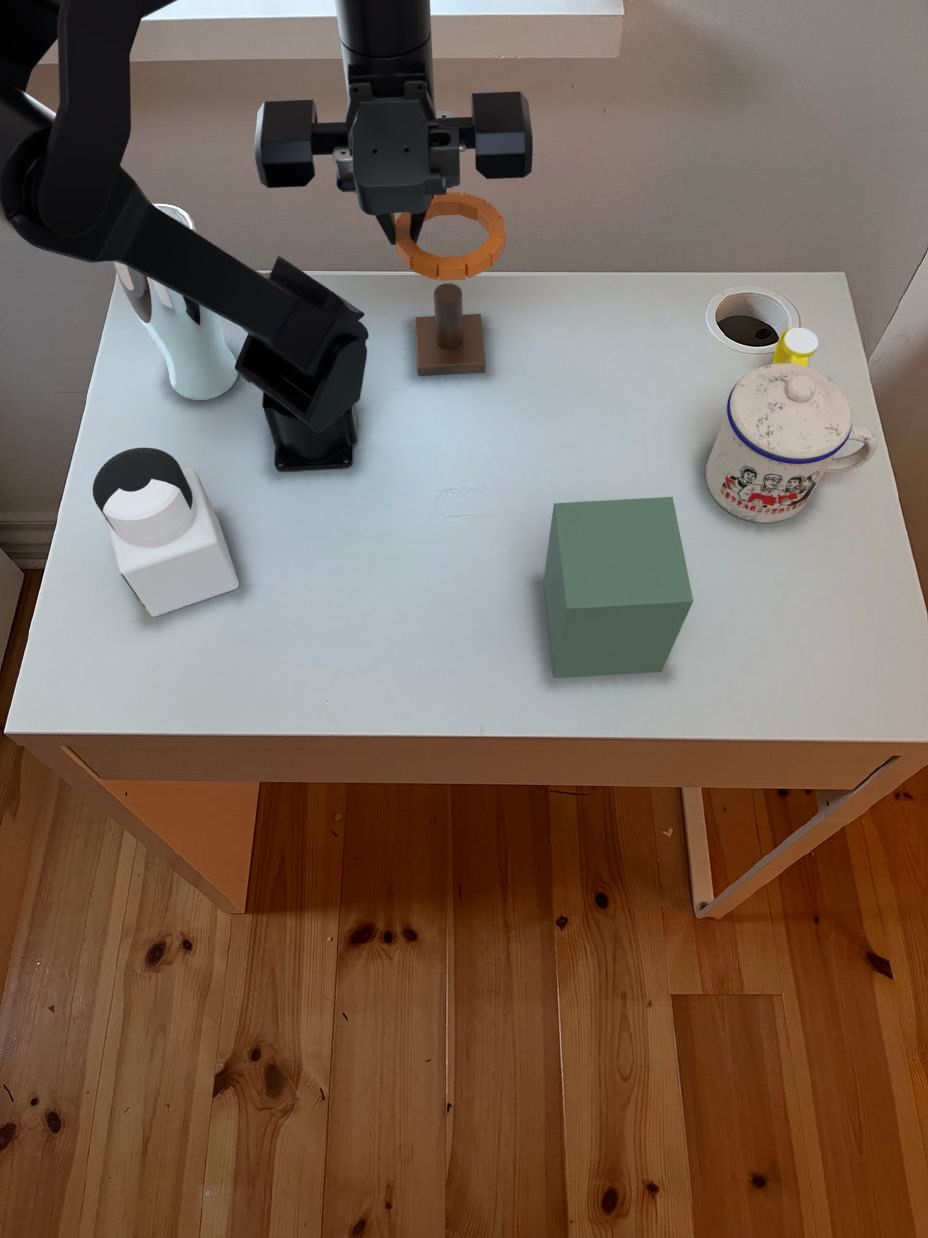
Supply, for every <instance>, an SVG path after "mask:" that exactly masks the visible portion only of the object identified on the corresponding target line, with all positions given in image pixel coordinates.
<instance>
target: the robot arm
mask: <svg viewBox="0 0 928 1238" xmlns="http://www.w3.org/2000/svg"><path fill="white" fill-rule="evenodd" d="M177 1H178V0H0V222H1V223H2V224H3V225H5V226H6V227H8V228H9V229H10V230H12V231H13V233H15V234H16V235H18V236H19V237H21V238H22V239H23V240H25V241H26V242H27V243H28V244H29V245H31V246H33V247H34V248H36V249H39V250H42V251H46V252H48V253H52V254H56V255H61V256H63V257H67V258H70V259H74V260H78V261H82V262H86V263H89V264H103V263H105V264H107V263H113V262H118V263H121V264H124V265H126V266H128V267H130V268H132V269H134V270H136V271H138V272H139V273H141V274H143V275H145V276H147V277H149V278H151V279H153V280H154V281H156V282H158V283H160V284H162V285H164V286H166V287H167V288H169V289H171V290H173V291H175V292H177V293H179V294H181V295H182V296H184V297H186V298H188V299H190V300H192V301H194V302H195V303H197V304H199V305H201V306H203V307H205V308H207V309H209V310H210V311H212V312H214V313H216V314H218V315H220V317H221V318H224V319H225V320H227V321H229V322H232V323H233V324H235V325H237V326H239V327H240V328H241V329H242V330H244V331H245V332H246V333H247V335H246V338H245V339H244V342H243V345H242V347H241V349H240V352H239V355H238V357H237V359H236V361H237V362H236V364H235V370H236V371H237V372H238V375H240V376H241V377H242V378H243V379H244V380H245V381H247V382H248V383H249V384H252V385H254V386H255V387H257V388H258V390H261V392H262V405H261V406H262V410H263V413H264V416H265V419H266V423H267V425H268V428H269V429H268V430H269V432H270V435H271V437H272V442H273V444H274V467H275V470H276V471H278V472H292V471H293V472H294V471H310V470H311V471H313V470H330V469H349V468H350V467H352V466H353V465H354V446H356V445H357V444H358V443H359V432H358V431H359V425H358V424H359V421H358V420H359V419H358V414H357V408H356V404H357V403H358V402H360V399H361V395H362V390H363V382H364V376H365V370H366V363H367V358H368V348H367V344H366V343H367V340H368V339H369V335H370V334H369V331H368V328H367V327H366V326H365V324H363V322H362V321H361V319H363V318H364V316H365V312H364V311H362V310H361V309H359V308H358V307H356V306H355V305H353V304H352V303H350V302H349V301H348V300H346V299H344V298H343V297H342V296H341V295H339V294H337V293H336V292H334V291H332V290H331V289H329V287H327V286H325V285H324V284H322V283H321V282H319V281H318V280H316V279H315V278H313V277H312V276H310V275H309V274H307V273H306V272H304V271H303V270H302V269H300V268H299V267H297V266H295V265H294V264H293V263H291V262H289V261H288V260H286V259H285V258H284V257H282V256H281V255H279V254H278V255H277V257H276V259H275V262H274V264H273V266H272V269H271V271H269V272H265V273H264V272H260V271H258V270H256V269H255V268H253V267H251V266H250V265H248V264H247V263H245V262H244V261H242V260H241V259H239V258H238V257H236V256H234V255H233V254H232V253H230V252H228V251H227V250H225V249H223V248H222V247H221V246H219V245H218V244H216V243H215V242H213V241H211V240H210V239H208V238H207V237H205V236H204V235H202V234H200V233H199V232H198V231H197V230H196V231H197V232H196V231H194V230H193V229H191V228H190V227H188V226H187V225H185V224H184V223H182V222H181V221H179V220H177V219H176V218H174V217H173V216H171V215H170V214H168V213H167V212H165V211H164V210H162V209H161V208H159V207H157V206H156V205H154V204H155V203H153V202H152V201H150V200H149V198H148V197H147V196H146V194H145V193H144V192H143V190H142V188H141V187H140V185H139V184H138V183H137V181H136V180H135V178H133V177H132V176H131V175H130V174H129V172H127V171H126V170H125V169H124V168H123V167H122V166H121V164H122V161H123V158H124V155H125V152H126V150H127V146H128V143H129V141H130V138H131V131H132V106H131V105H132V104H131V103H132V102H131V99H132V98H131V52H132V48H133V45H134V44H135V43H134V42H135V39H136V37H137V34H138V31H139V28H140V24H141V22H142V20H143V19H144V18H146V17H148V16H150V15H152V14H154V13H155V12H156V13H157V11H158V12H159V10H161V9H164V8H165V7H168V6H169V5H171V4H173V3H175V2H177ZM334 5H335V11H336V12H335V13H336V18H337V19H336V20H337V25H338V26H337V27H338V36H339V43H340V50H341V59H342V66H343V74H344V81H345V89H346V97H347V107H346V111H345V119H340V120H339V119H338V120H326V121H325V122H319V117H318V111H317V105H316V102H315V100H314V99H293V100H266V101H263V103H262V104H261V106H260V108H259V109H258V110H257V116H256V126H255V136H254V137H255V138H254V144H253V145H254V146H253V151H254V161H255V165H256V170H257V173H258V178H259V182H260V184H262V185H263V186H265V187H266V188H267V189H275V188H276V189H277V188H301V187H302V188H303V187H307V186H308V184H310V182H311V181H312V180H314V178H315V177H316V167H315V161H314V156H328V155H329V156H330V155H332V161H333V163H334V164H335V166H336V177H335V179H336V180H335V181H336V182H335V186H336V187H337V189H338V191H340V192H341V193H354V194H356V197H357V201H358V206H359V208H360V210H361V211H362V212H363V213H364V214H366V215H369V216H374V217H375V218H376V220H377V222H378V224H379V226H380V228H381V230H382V232H383V233H384V234H385V237H386V239H387V240H388V242H389V244H390V245H391V246H396V243H395V223H396V215H395V214H401V213H402V212H408V213H410V237H411V239H412V240H413V241H414V242H415V243H416V244H417V243H418V240H419V237H420V234H421V232H422V228H423V226H424V223H425V222H424V219H425V216H426V213H427V211H428V208H429V207H430V205H431V202H432V200H433V198H434V196H435V195H447V193H448V192H447V190H448V189H452V188H454V187H459V185H460V184H461V161H460V160H461V159H460V158H461V157H460V155H461V154H460V153H465V152H466V150H474V156H475V157H474V160H475V161H474V163H475V164H474V166H475V170H476V172H478V173H479V174H480V175H481V176H483V177H484V178H485V179H486V180H501V179H502V180H503V179H524V178H526V177H527V176H529V175H530V174H531V173H532V171H533V156H534V155H533V154H534V140H533V139H534V138H533V137H534V135H533V128H532V120H531V112H530V111H531V110H530V105H529V104H530V103H529V100H528V99H527V98H526V96H525V95H524V94H523V93H522V91H519V90H517V91H495V92H472V93H471V98H470V99H471V100H470V103H471V105H470V107H471V109H470V110H471V111H470V113H471V116H459V117H457V116H456V117H455V116H454V115H455V114H454V110H452V109H436V106H435V105H436V104H435V86H434V85H435V84H434V62H433V61H434V60H433V41H432V39H433V38H432V36H433V35H432V18H431V16H432V14H431V13H432V12H431V0H334ZM56 42H57V57H58V62H57V63H58V91H59V92H58V93H59V94H58V97H59V101H58V102H59V103H58V107H57V110H56V112H54V111H52V109H51V108H48V107H47V106H46V105H44V104H43V103H42V102H40V101H38V100H36V99H35V98H34V97H32V96H31V95H29V94H28V93H27V88H28V85H29V81H30V78H31V74H32V71H33V70H34V69H35V67H36V66H37V65H38V64H39V63H40V61H41V60H42V59H43V57H44V56H45V55H46V54H47V52H49V50H50V49H51V47H53V45H54V44H55V43H56Z"/></svg>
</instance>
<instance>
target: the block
mask: <svg viewBox="0 0 928 1238" xmlns="http://www.w3.org/2000/svg"><path fill="white" fill-rule="evenodd" d="M679 527H680V526H679V522H678V517H677V512H676V506H675V503H674V498H673V496H662V497H661V496H660V497H643V498H625V499H610V500H609V499H607V500H606V499H605V500H590V501H588V500H587V501H572V502H571V501H569V502H555V503H553V506H552V514H551V522H550V530H549V536H548V545H547V552H546V559H545V566H544V567H545V568H544V575H543V582H542V587H543V594H544V605H545V614H546V615H545V616H546V623H547V631H548V632H547V633H548V640H549V650H550V656H551V657H550V658H551V659H550V660H551V667H552V676H553V677H552V678H554V679H562V678H580V677H594V676H595V677H596V676H611V675H612V676H613V675H630V674H647V673H661V672H662V671H663V669H664V667H665V665H666V662H667V660H668V658H669V656H670V653H671V652H672V649H673V648H674V645H675V642H676V641H677V638H678V636H679V634H680V631H681V629H682V627H683V625H684V623H685V620H686V618H687V616H688V614H689V612H690V610H691V607H692V605H693V603H694V596H693V593H692V588H691V587H692V586H691V583H690V577H689V573H688V567H687V562H686V557H685V552H684V548H683V542H682V536H681V531H680V528H679Z"/></svg>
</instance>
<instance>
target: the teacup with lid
mask: <svg viewBox="0 0 928 1238" xmlns="http://www.w3.org/2000/svg"><path fill="white" fill-rule="evenodd" d="M848 441H855V442H861V443H863V445H862V446H861V447H860V448H859V449H857V450H856V451H853V453H851V454H849V455H846V456H842V457H835V455H836V454H837V452H839V451H840V450H841V449H842V448H843V447H844V445H845V444H846V443H847V442H848ZM877 448H878V439H877V435H876V433H875V432H874V431H873V430H872V429H871V428H869V427H867V426H863V425H859V424H853V412H852V407H851V404H850V402H849V399H848V397H847V395H846V394H845V392H844V390H843V389H842V388H841V387H840V386H839V384H837V383H836V382H835V381H834V380H833V379H832V378H830V377H829V376H827V375H826V374H824V373H822V372H820V371H819V370H817V369H814V368H811V367H809V366H808V367H806V366H802V365H797V364H790V362H789V363H777V364H772V363H770V364H766V365H762V366H760V367H757V368H755V369H753V370H751V371H749V372H748V373H746V374H745V375H744V376H743V377H741V378H740V379H739V380H738V381H737V382H736V383H735V384H734V386H733V388H732V389H731V390H730V392H729V395H728V398H727V403H726V412H725V415H724V417H723V420H722V422H721V426H720V428H719V431H718V434H717V436H716V438H715V442H714V444H713V446H712V449H711V452H710V454H709V457H708V460H707V463H706V467H705V481H706V485H707V488H708V490H709V491H710V494H711V496H712V497H713V499H714V500H715V501H716V502H717V503H718V504H719V505H720V506H721V507H722V508H723V509H724V510H726V511H727V512H728V513H730V514H732V515H733V516H736V517H738V518H740V519H743V520H746V521H749V522H754V523H763V524H764V523H765V524H767V523H777V522H782V521H785V520H787V519H789V518H792V517H793V516H795V515H796V514H798V513H799V512H800V511H802V509H803V508H805V506H806V505H807V504H808V502H809V501H810V499H811V497H812V495H813V493H814V492H815V490H816V488H817V487H818V485H819V483H820V482H821V480H822V478H823V476H824V474H837V473H838V474H841V473H845V472H849V471H853V470H855V469H857V468H859V467H860V466H862V465H864V464H865V463H867V462H868V461H869V460H870V459H872V457H873V456H874V454H875V453H876V451H877Z"/></svg>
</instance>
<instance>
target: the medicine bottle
mask: <svg viewBox="0 0 928 1238" xmlns="http://www.w3.org/2000/svg"><path fill="white" fill-rule="evenodd" d="M92 496H93V500H94V502H95V504H96V506H97V507H98V509H99V511H100V512H101V513H102V515H103V516H104V519H105V523H106V527H107V531H108V535H109V538H110V543H111V546H112V550H113V554H114V557H115V563H116V566H117V570H118V572H119V574H120V575H121V577H122V578H123V580H124V582H126V584H127V586H128V587H129V588H130V589H131V591H132V592H133V594H134V595H135V597H136V598H137V599H138V601H139V602H140V604H141V606H142V607H143V608H144V609H145V611H146V612H147V613H148V615H149V616H150V617H152V618H155V617H158V616H161V615H164V614H167V613H170V612H173V611H176V610H179V609H182V608H185V607H187V606H190V605H193V604H196V603H199V602H202V601H205V600H209V599H212V598H213V597H217V596H220V595H223V594H225V593H228V592H232V591H235V590H237V589H238V588H239V587H240V582H239V579H238V576H237V573H236V570H235V569H236V568H235V566H234V563H233V560H232V557H231V554H230V551H229V547H228V545H227V542H226V539H225V536H224V533H223V529H222V527H221V523H220V520H219V518H218V516H217V513H216V512H215V509H214V507H213V505H212V503H211V500H210V498H209V496H208V494H207V491H206V489H205V488H204V486H203V484H202V481H201V479H200V476H199V475H198V472H197V471H196V469H195V468H193V467H189V468H186V469H182V468H181V466H180V464H179V462H178V461H177V460H176V459H175V457H174V456H173V455H171V454H170V453H168V452H166V451H164V450H161V449H159V448H154V447H134V448H128V449H125V450H123V451H121V452H119V453H117V454H115V455H114V456H112V457H111V458H109V459H108V460H107V461H105V463H104V464H103V465H102V466H101V467H100V469H99V471H98V472H97V474H96V475H95V478H94V480H93V484H92Z"/></svg>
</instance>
